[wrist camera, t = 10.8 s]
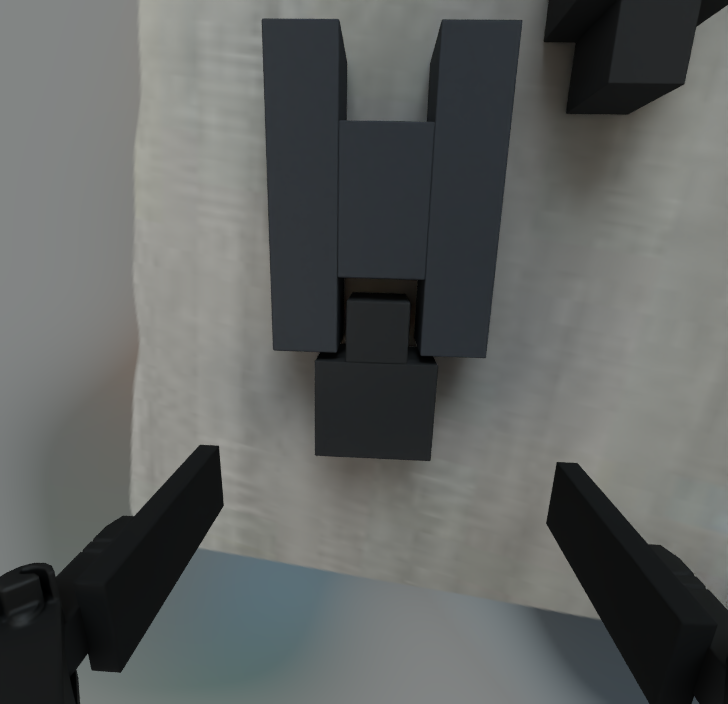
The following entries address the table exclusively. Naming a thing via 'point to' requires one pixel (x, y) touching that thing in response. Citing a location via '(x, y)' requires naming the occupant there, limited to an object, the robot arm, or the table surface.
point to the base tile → (386, 185)
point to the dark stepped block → (375, 386)
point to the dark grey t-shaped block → (626, 49)
